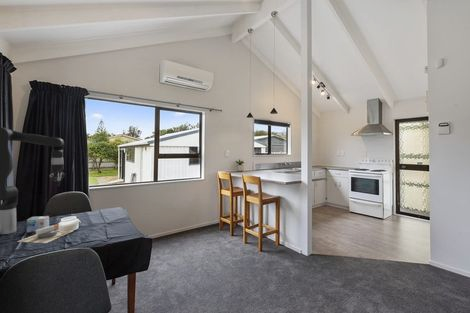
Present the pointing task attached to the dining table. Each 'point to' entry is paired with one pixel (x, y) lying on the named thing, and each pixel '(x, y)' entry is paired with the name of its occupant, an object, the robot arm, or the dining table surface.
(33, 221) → the light bulb box
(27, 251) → the dining table surface
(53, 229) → the dial
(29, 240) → the panel
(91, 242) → the dining table surface
